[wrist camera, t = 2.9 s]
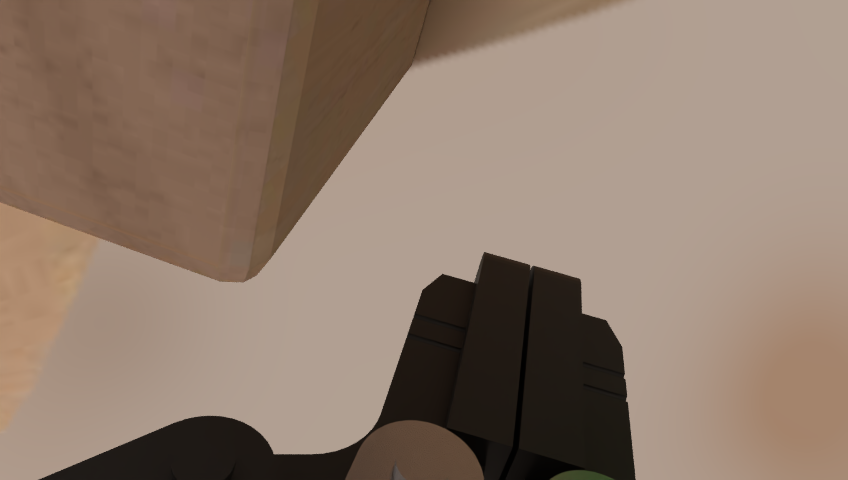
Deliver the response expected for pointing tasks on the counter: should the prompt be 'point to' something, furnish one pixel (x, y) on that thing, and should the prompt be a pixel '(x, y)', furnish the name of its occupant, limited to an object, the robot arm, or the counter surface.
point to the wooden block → (191, 115)
